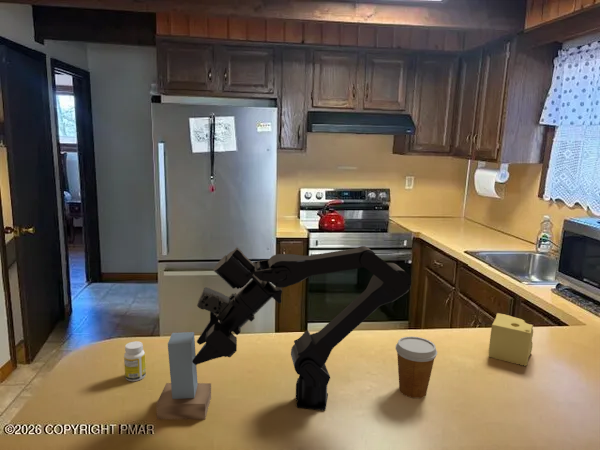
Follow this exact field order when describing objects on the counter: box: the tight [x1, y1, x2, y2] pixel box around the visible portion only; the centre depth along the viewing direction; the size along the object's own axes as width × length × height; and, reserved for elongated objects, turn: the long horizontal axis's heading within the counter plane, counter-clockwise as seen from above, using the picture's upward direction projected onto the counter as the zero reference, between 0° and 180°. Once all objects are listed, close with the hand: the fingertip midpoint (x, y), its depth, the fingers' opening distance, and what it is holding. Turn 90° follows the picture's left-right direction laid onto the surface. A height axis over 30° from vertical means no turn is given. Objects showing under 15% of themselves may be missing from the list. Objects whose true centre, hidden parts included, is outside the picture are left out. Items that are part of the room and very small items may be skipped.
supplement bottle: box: [123, 340, 147, 382], centre depth 109 cm, size 5×5×8 cm
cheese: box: [488, 312, 534, 367], centre depth 126 cm, size 10×11×10 cm
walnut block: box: [155, 382, 212, 420], centre depth 97 cm, size 10×8×4 cm
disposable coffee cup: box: [395, 336, 438, 399], centre depth 106 cm, size 10×10×12 cm
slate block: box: [167, 331, 199, 399], centre depth 95 cm, size 5×5×13 cm
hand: (196, 352), depth 95 cm, fingers open, 9 cm apart
